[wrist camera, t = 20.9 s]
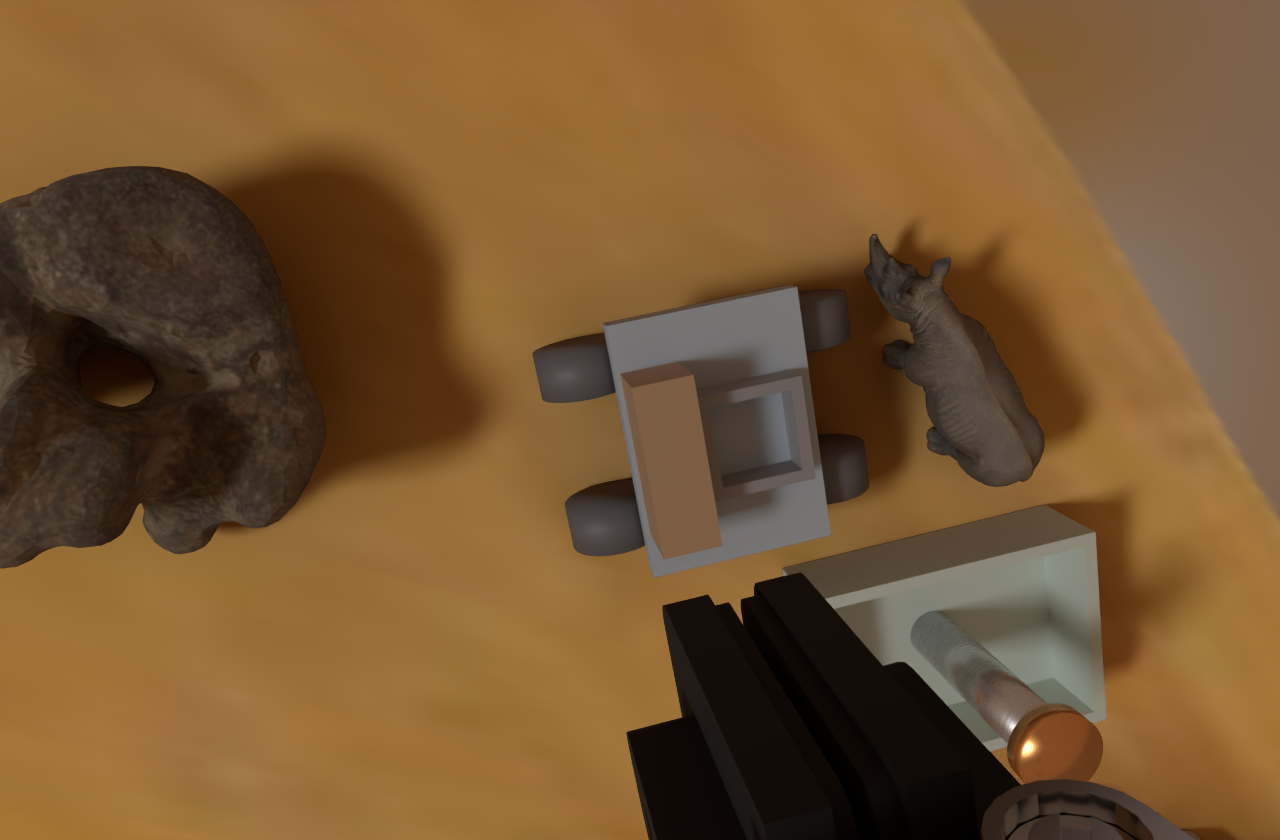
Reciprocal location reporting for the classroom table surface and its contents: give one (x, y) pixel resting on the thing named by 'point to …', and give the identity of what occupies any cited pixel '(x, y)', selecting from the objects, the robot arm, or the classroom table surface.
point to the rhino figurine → (956, 375)
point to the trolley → (711, 428)
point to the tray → (983, 603)
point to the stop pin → (1010, 705)
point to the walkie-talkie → (1192, 835)
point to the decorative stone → (168, 344)
